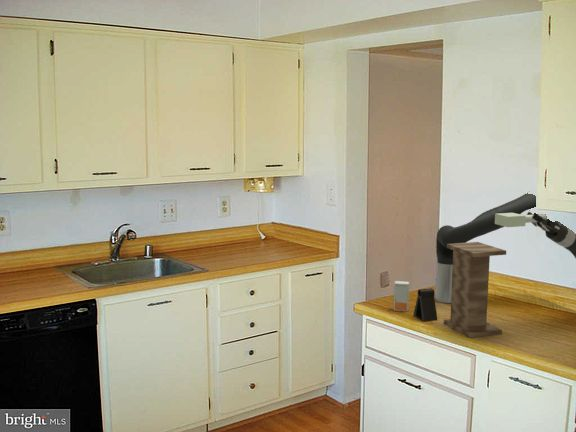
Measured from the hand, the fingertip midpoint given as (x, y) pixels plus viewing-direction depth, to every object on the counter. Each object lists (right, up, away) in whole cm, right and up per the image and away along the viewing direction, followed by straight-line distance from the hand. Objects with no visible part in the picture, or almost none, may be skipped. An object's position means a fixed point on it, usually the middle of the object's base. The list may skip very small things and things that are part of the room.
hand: (530, 214), depth 266 cm
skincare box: (-47, -40, +23) cm, 66 cm away
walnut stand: (-23, -44, -1) cm, 50 cm away
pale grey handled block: (-3, -4, -1) cm, 5 cm away
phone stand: (-39, -42, +12) cm, 58 cm away
